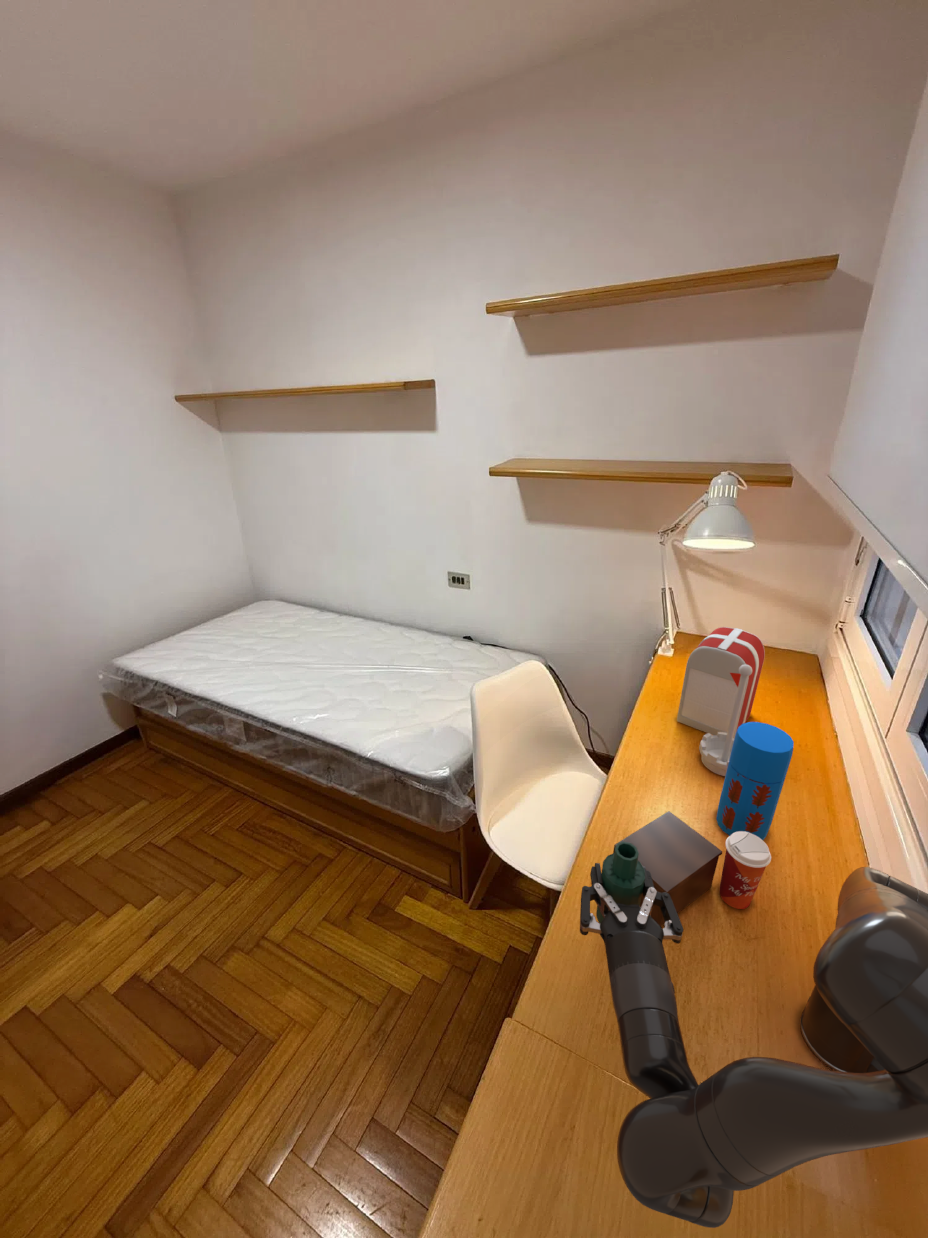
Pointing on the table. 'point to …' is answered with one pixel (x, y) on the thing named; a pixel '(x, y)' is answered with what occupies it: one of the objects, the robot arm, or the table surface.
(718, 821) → the thermos
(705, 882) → the chest
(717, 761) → the flag stand
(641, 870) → the bottle
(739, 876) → the paper cup
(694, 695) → the toy mailbox
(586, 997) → the table surface
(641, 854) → the lid
